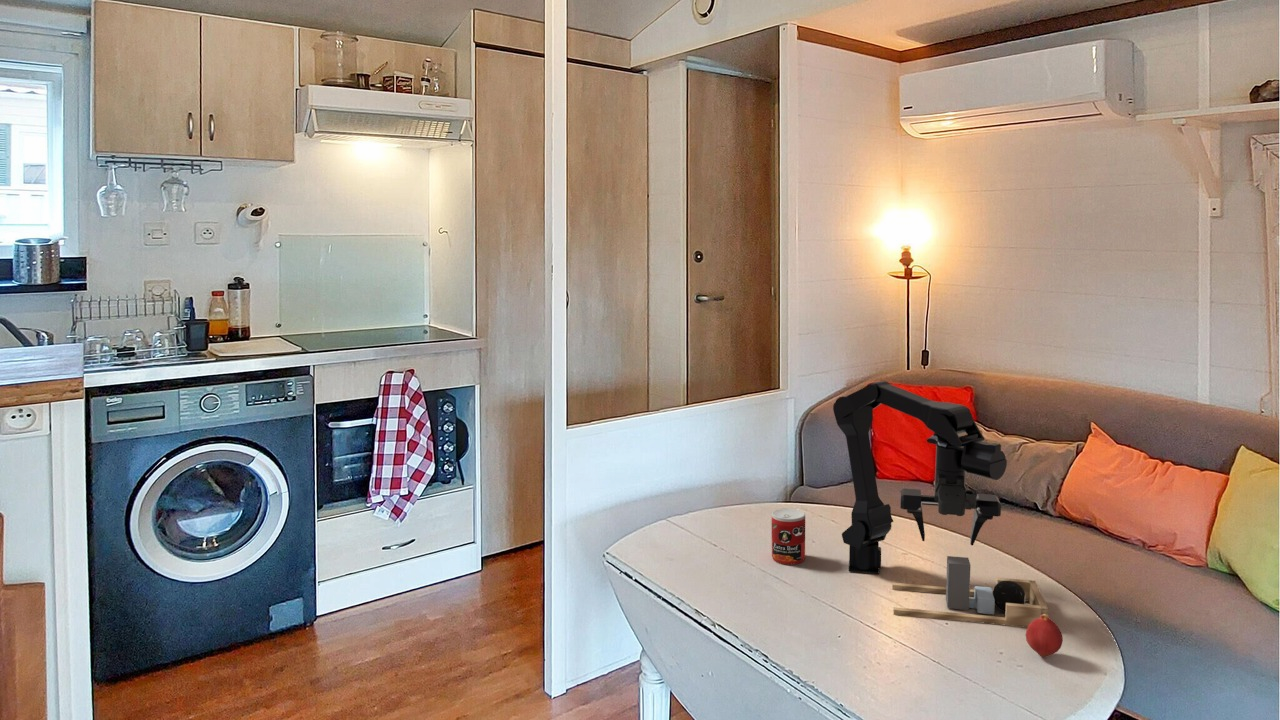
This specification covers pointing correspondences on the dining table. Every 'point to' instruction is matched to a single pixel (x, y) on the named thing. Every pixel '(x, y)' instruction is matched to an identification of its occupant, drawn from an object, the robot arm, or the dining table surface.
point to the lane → (938, 613)
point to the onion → (1044, 636)
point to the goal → (1023, 612)
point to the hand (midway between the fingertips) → (947, 542)
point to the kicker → (965, 588)
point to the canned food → (788, 536)
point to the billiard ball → (1008, 594)
